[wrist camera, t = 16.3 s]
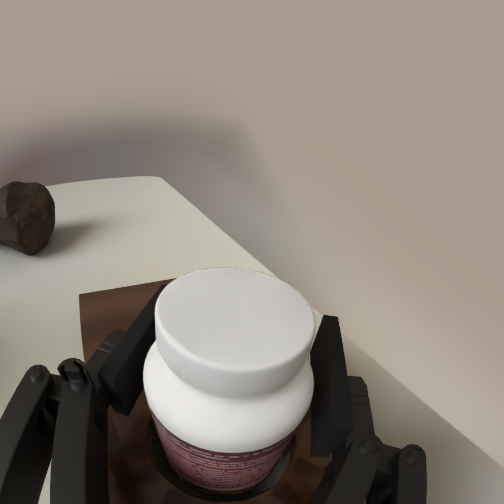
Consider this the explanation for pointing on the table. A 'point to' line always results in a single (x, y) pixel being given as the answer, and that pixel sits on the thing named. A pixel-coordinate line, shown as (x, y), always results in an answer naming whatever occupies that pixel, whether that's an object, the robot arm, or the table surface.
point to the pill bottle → (228, 375)
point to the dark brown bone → (26, 216)
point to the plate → (144, 430)
